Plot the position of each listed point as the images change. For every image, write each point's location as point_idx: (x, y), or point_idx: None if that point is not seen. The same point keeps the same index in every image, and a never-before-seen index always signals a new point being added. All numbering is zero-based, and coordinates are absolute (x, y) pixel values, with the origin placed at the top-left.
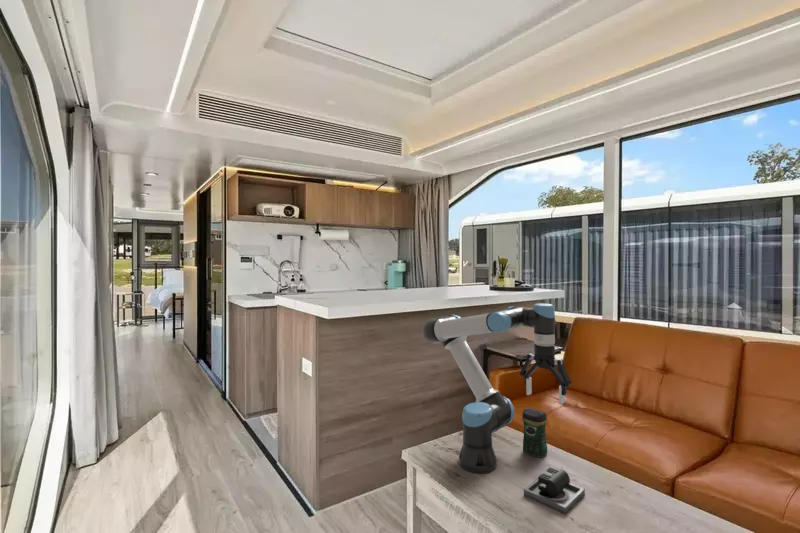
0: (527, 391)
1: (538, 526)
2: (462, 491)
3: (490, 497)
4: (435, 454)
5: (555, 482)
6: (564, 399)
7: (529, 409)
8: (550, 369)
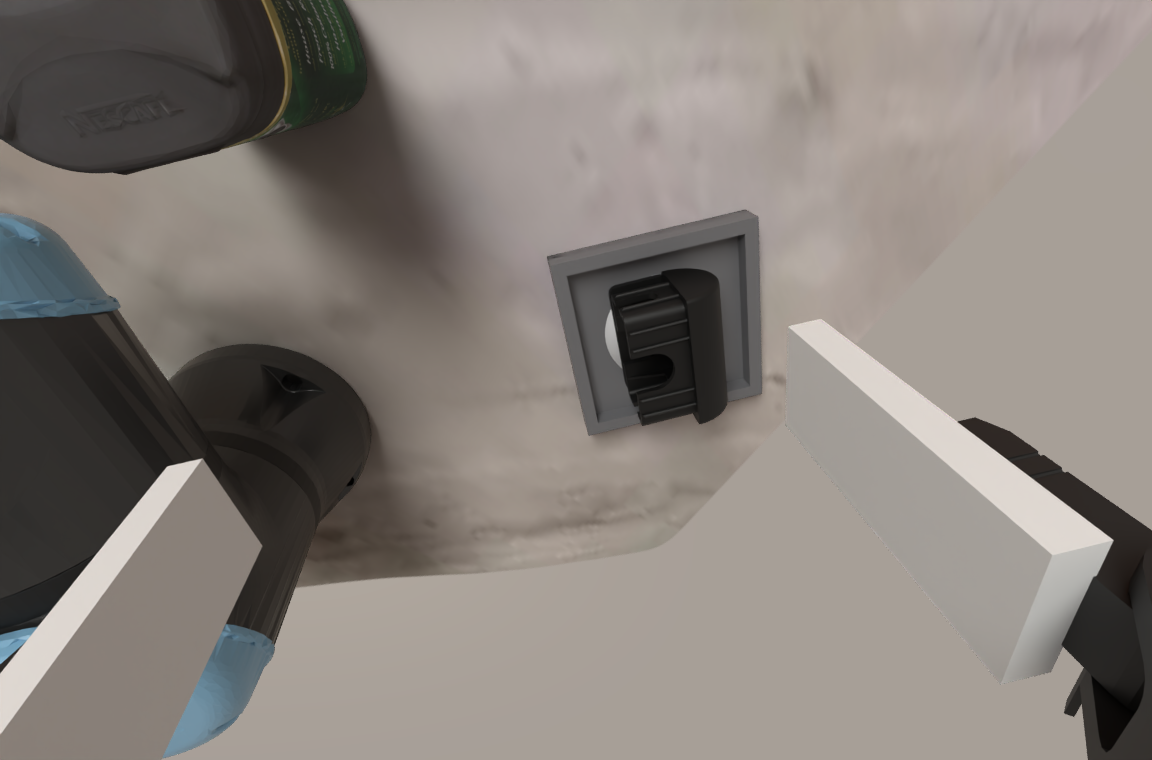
0: (227, 602)
1: (722, 485)
2: (443, 567)
3: (524, 516)
4: None
5: (721, 401)
6: (850, 341)
7: (20, 78)
8: None
